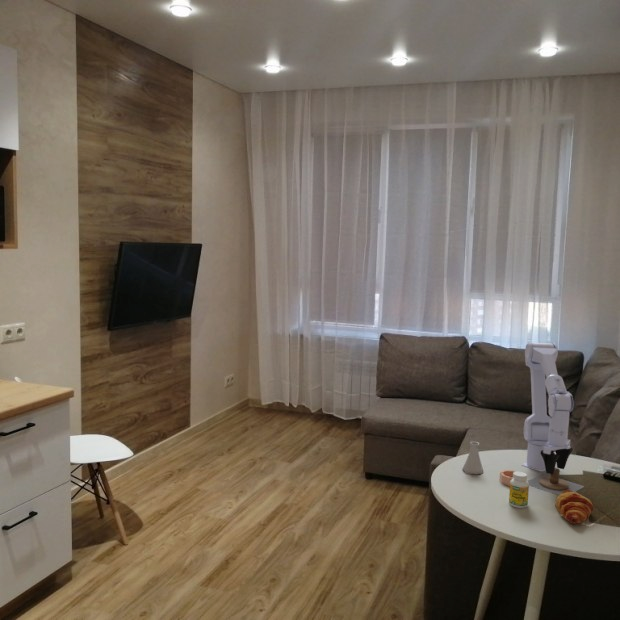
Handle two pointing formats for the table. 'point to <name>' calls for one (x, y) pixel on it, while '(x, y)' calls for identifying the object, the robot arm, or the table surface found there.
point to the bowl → (506, 476)
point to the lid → (554, 482)
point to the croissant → (573, 506)
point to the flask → (473, 460)
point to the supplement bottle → (519, 490)
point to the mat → (536, 484)
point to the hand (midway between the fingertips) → (555, 470)
